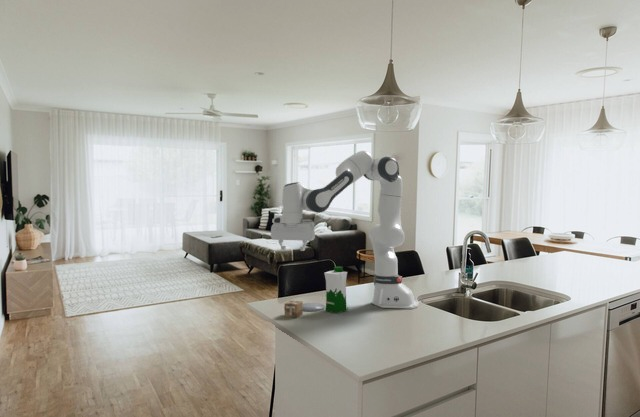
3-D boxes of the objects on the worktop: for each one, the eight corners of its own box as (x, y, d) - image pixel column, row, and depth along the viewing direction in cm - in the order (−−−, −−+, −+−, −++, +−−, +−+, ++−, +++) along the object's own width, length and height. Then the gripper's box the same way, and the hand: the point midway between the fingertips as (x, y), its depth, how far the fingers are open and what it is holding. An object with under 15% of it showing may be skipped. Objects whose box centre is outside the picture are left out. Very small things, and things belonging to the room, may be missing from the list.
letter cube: (302, 314, 188) (302, 301, 187) (296, 318, 182) (296, 304, 182) (290, 313, 190) (290, 300, 190) (284, 317, 184) (284, 303, 184)
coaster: (328, 305, 203) (328, 304, 203) (318, 312, 191) (318, 310, 191) (303, 303, 208) (303, 301, 208) (292, 310, 195) (292, 308, 195)
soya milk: (349, 310, 194) (349, 267, 193) (336, 314, 187) (336, 269, 187) (335, 307, 200) (334, 265, 199) (322, 311, 193) (321, 267, 193)
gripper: (316, 218, 184) (317, 250, 184) (275, 218, 192) (275, 248, 192) (311, 219, 178) (311, 251, 179) (268, 219, 186) (269, 250, 186)
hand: (292, 250), depth 185 cm, fingers open, 8 cm apart
